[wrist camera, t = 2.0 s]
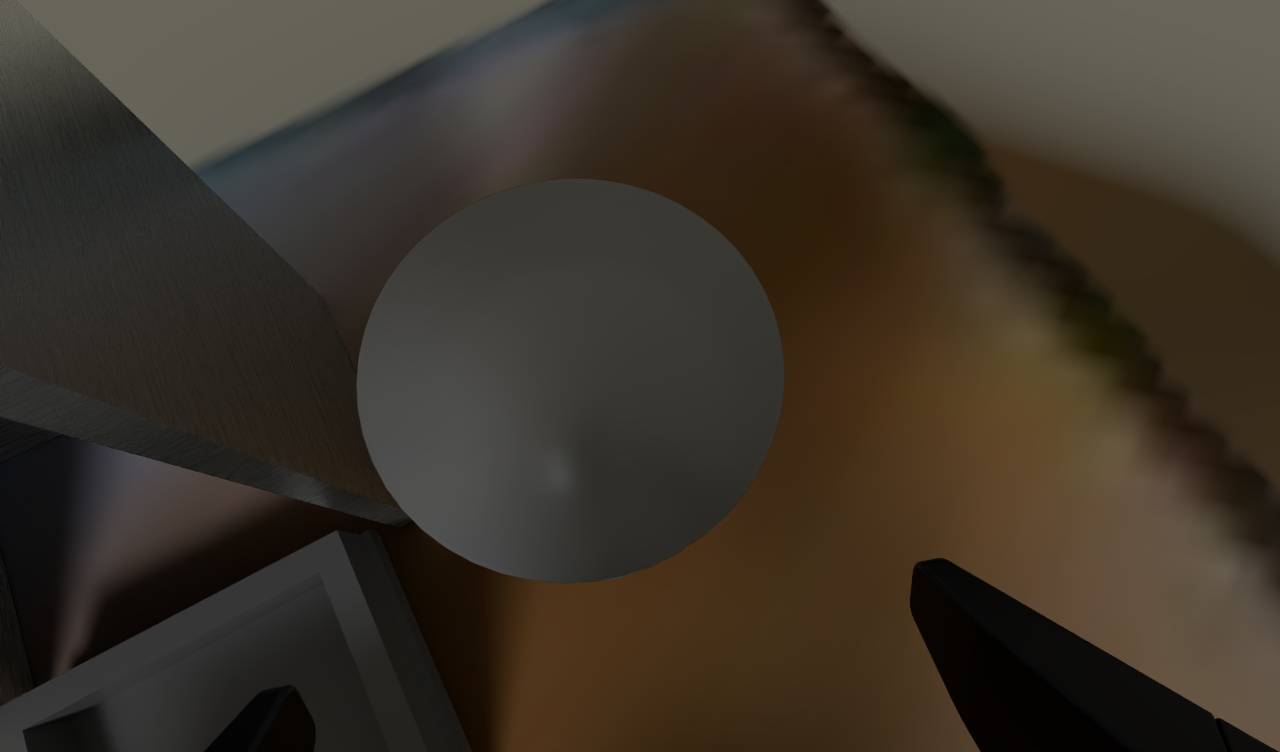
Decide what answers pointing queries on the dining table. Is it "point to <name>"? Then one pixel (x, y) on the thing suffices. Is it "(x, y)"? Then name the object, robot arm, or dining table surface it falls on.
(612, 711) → the dining table surface
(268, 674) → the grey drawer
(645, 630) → the dining table surface
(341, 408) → the caddy
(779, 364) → the cup
